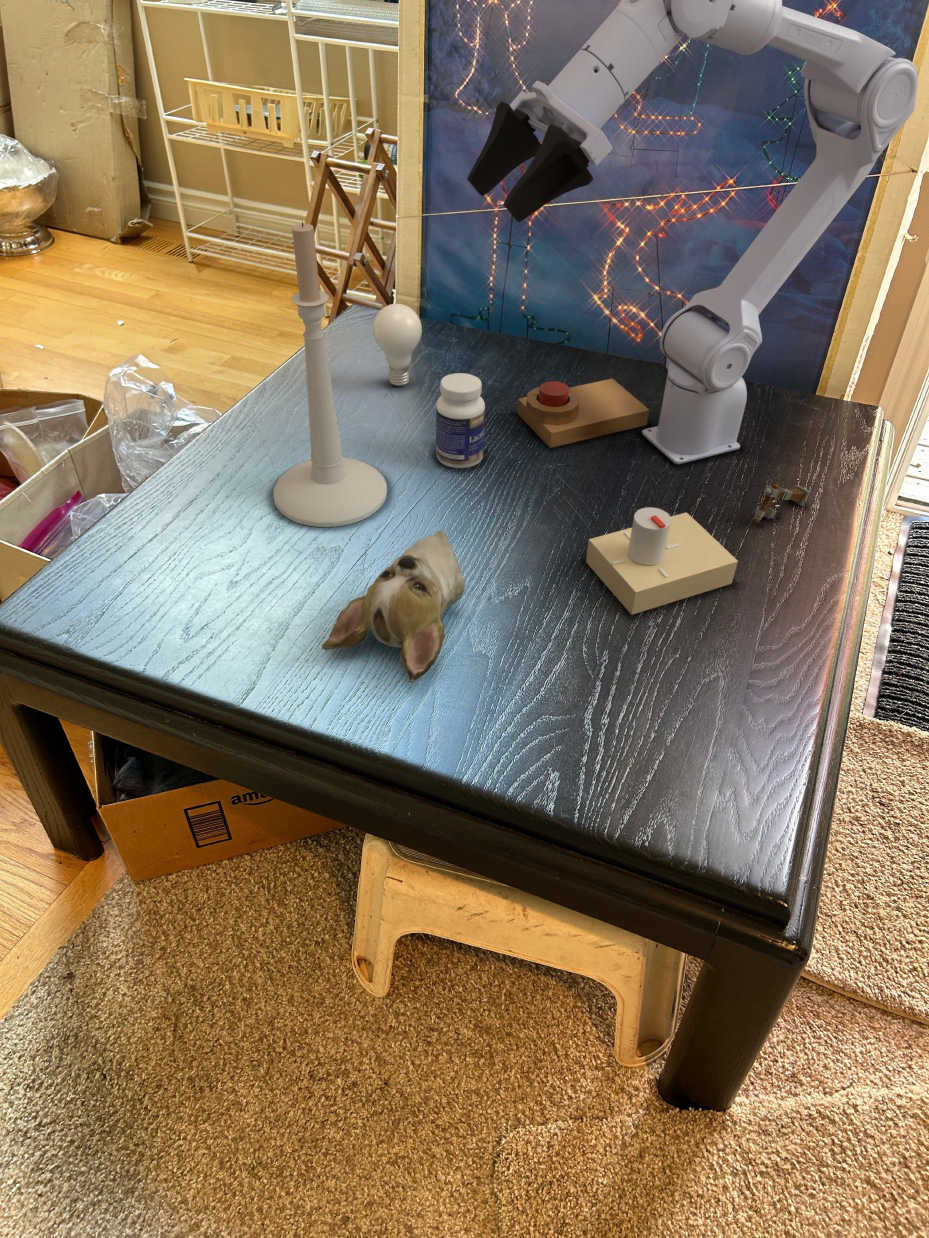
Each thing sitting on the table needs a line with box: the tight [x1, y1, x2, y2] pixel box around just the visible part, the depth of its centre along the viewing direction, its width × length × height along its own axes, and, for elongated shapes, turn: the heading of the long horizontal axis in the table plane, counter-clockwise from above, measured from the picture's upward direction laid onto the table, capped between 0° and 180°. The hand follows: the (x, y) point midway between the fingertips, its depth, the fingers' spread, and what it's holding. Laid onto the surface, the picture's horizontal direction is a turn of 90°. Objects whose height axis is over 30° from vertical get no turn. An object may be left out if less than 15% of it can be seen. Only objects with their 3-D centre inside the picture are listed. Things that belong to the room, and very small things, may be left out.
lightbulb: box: [372, 303, 423, 387], centre depth 118 cm, size 6×6×11 cm
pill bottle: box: [435, 372, 486, 469], centre depth 105 cm, size 6×6×10 cm
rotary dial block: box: [585, 512, 739, 616], centre depth 92 cm, size 12×9×3 cm
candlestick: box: [272, 221, 388, 528], centre depth 93 cm, size 13×13×30 cm
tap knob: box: [628, 506, 672, 566], centre depth 89 cm, size 4×4×5 cm
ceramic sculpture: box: [321, 529, 466, 683], centre depth 83 cm, size 11×9×15 cm
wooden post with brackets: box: [752, 483, 811, 524], centre depth 100 cm, size 2×8×4 cm, turn 127°
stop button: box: [539, 380, 570, 407], centre depth 111 cm, size 4×4×2 cm
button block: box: [517, 378, 650, 449], centre depth 114 cm, size 15×9×4 cm, turn 114°
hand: (492, 200), depth 81 cm, fingers open, 7 cm apart
